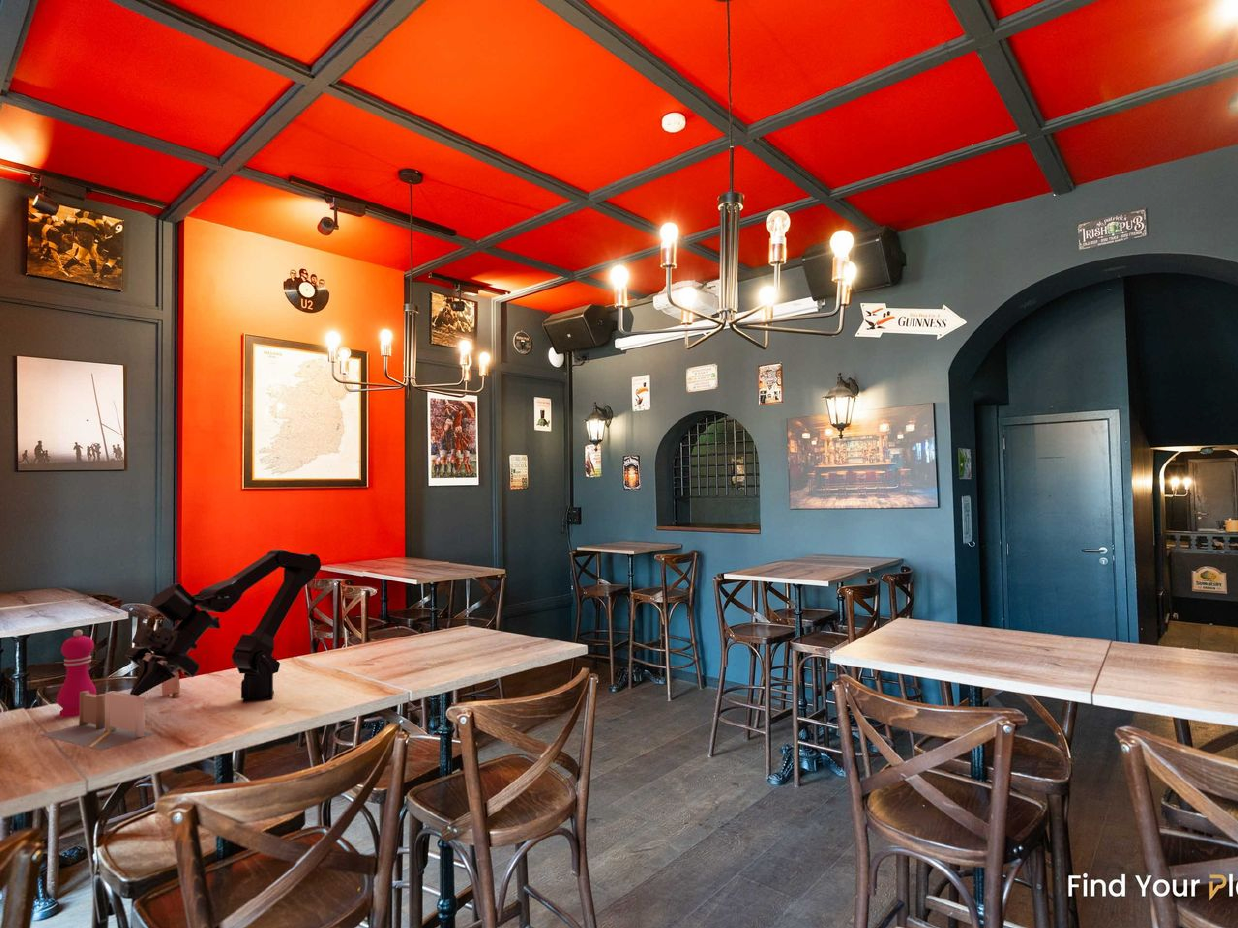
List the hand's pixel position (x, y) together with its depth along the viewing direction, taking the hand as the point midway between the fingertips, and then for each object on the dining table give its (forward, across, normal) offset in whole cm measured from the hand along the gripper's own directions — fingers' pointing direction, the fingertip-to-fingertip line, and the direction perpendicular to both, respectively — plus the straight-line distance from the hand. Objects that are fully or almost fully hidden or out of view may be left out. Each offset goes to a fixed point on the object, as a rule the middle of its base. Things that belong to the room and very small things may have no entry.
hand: (132, 696), depth 142 cm
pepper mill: (+4, -28, +8) cm, 30 cm away
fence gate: (+6, -1, +5) cm, 7 cm away
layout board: (+8, -6, +3) cm, 11 cm away
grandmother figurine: (-9, -23, +21) cm, 32 cm away
